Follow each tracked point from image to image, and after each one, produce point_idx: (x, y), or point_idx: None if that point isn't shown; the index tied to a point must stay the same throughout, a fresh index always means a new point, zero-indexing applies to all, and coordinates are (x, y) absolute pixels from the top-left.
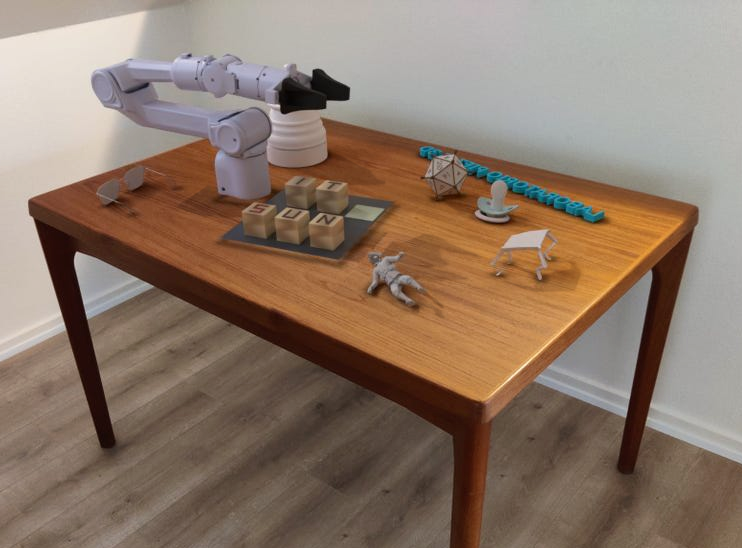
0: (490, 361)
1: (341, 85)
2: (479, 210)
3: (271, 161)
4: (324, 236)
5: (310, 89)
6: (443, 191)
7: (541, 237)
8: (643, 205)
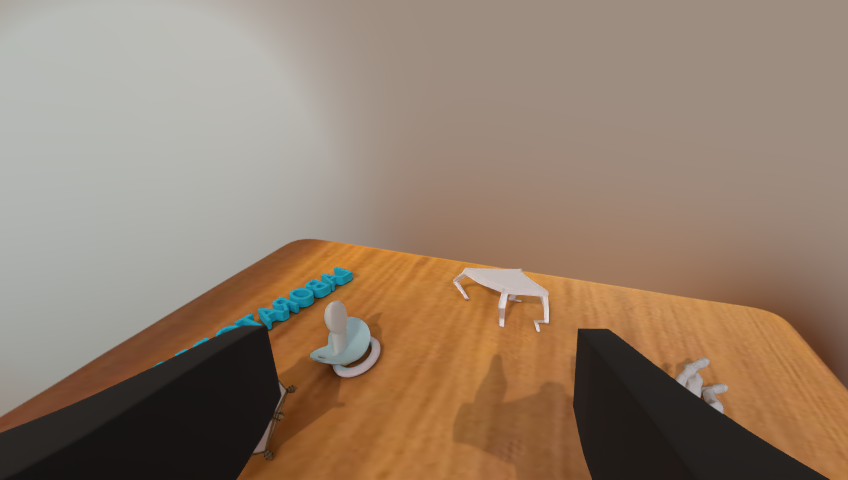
0: (714, 313)
1: (232, 350)
2: (343, 369)
3: None
4: None
5: (656, 401)
6: (274, 425)
7: (493, 270)
8: (295, 256)
